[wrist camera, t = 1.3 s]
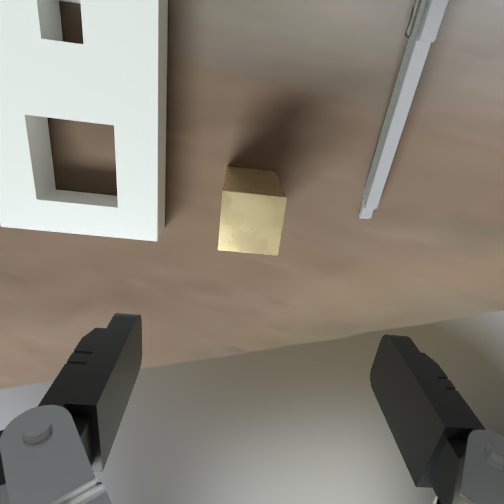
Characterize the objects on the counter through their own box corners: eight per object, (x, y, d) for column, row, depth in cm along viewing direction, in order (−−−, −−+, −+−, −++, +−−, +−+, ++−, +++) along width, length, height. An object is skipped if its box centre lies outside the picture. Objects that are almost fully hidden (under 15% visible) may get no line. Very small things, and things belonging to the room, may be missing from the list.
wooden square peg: (275, 171, 29) (287, 197, 22) (268, 216, 31) (277, 255, 23) (227, 165, 29) (222, 190, 21) (223, 212, 30) (217, 249, 23)
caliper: (420, -81, 23) (480, -140, 17) (436, -79, 23) (502, -137, 17) (357, 216, 31) (383, 244, 25) (368, 217, 31) (397, 245, 25)
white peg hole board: (168, -61, 22) (158, -83, 20) (164, 228, 31) (157, 241, 28) (-27, -92, 22) (-66, -119, 19) (23, 214, 30) (1, 226, 27)
